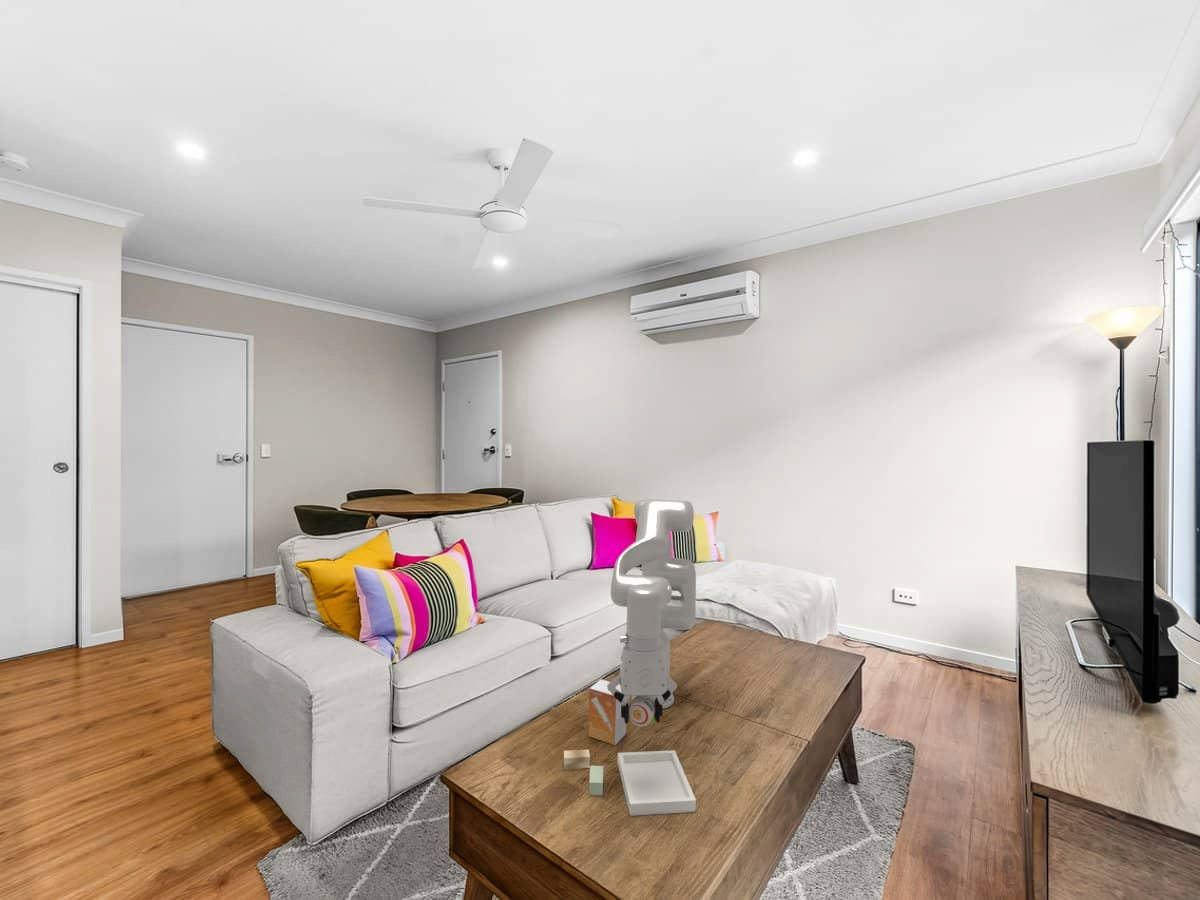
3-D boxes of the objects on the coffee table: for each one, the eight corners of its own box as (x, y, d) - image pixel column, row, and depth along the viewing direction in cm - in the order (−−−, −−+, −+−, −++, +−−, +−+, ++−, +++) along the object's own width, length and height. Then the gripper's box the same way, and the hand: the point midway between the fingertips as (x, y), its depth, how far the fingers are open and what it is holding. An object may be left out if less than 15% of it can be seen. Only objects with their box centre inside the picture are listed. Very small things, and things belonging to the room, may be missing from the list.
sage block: (590, 778, 125) (590, 765, 125) (603, 778, 125) (603, 766, 125) (589, 795, 119) (589, 782, 119) (602, 796, 119) (603, 782, 119)
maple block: (564, 770, 127) (564, 758, 127) (563, 762, 130) (563, 750, 130) (589, 769, 128) (589, 756, 128) (588, 761, 131) (588, 749, 131)
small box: (587, 737, 141) (588, 687, 141) (599, 725, 147) (600, 678, 146) (615, 746, 137) (616, 695, 137) (626, 734, 143) (627, 685, 142)
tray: (617, 763, 130) (617, 752, 130) (674, 760, 132) (674, 750, 132) (630, 815, 112) (630, 804, 112) (695, 811, 114) (696, 800, 114)
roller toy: (651, 731, 118) (651, 705, 118) (624, 725, 121) (624, 699, 120) (657, 721, 122) (657, 696, 122) (630, 715, 125) (631, 691, 125)
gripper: (606, 648, 116) (604, 730, 117) (685, 647, 118) (683, 727, 119) (603, 635, 124) (601, 712, 125) (677, 634, 125) (675, 709, 126)
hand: (641, 718), depth 122 cm, fingers closed on roller toy, 6 cm apart
